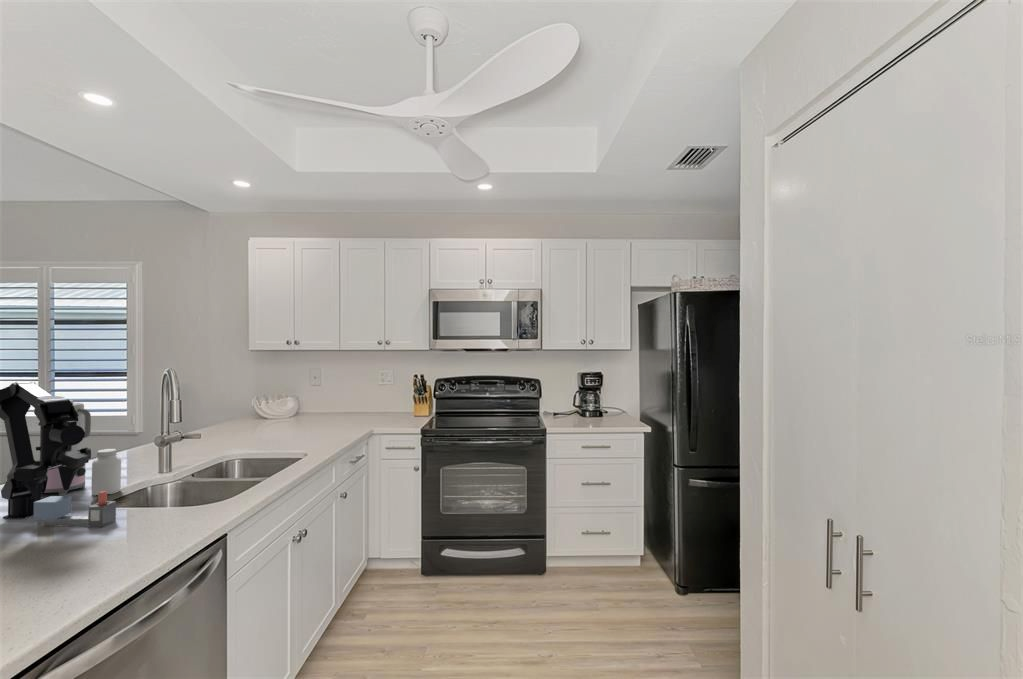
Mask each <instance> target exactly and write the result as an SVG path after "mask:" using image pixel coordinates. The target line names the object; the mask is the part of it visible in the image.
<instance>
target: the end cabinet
mask: <svg viewBox="0 0 1023 679" xmlns="http://www.w3.org/2000/svg"><path fill="white" fill-rule="evenodd" d="M116 512H117V500H107V504H106V505H98V502H97V503H94V504H92V505H90V506H88V513H87V516H88V526H87V527H88V528H91V529H92V528H105V527H106V526H109V525H111V524H113V523H114V522H116V520H117V518H116V516H117V513H116Z"/></svg>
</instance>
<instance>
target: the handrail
mask: <svg viewBox="0 0 1023 679" xmlns="http://www.w3.org/2000/svg"><path fill="white" fill-rule="evenodd" d="M43 526H44V527H88V515H65V516H63V517H60V518H58V519H56V520H43Z"/></svg>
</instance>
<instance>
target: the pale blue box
mask: <svg viewBox="0 0 1023 679" xmlns="http://www.w3.org/2000/svg"><path fill="white" fill-rule="evenodd" d="M69 514H72V496H71V495H67V496H66V495H65V496H64V495H58V496H57V495H50V496H48V497H44V498H41V500H39V501H36V502H34V515H33V520H34V521H35V520H36V521H37V520H38V521H39V520H40V521H41V520H43V521H44V520H56V519H58V518H60V517H63V516H68V515H69Z"/></svg>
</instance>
